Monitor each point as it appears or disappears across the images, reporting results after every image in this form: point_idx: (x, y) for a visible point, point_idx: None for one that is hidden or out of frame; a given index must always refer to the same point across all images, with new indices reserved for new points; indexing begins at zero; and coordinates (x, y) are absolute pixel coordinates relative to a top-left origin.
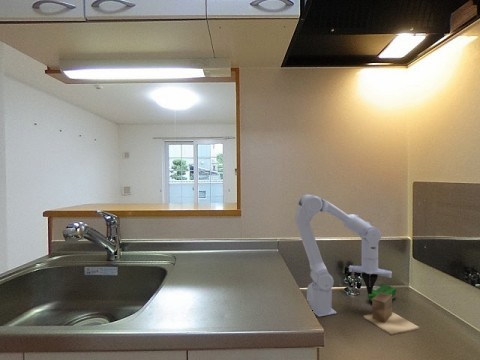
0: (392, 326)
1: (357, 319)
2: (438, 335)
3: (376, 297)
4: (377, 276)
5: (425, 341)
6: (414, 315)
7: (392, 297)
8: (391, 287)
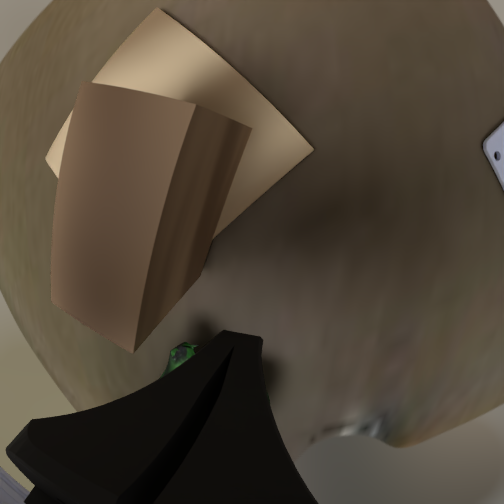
0: (139, 85)
1: (355, 99)
2: (16, 141)
3: (147, 178)
4: (34, 483)
5: (51, 60)
6: None
7: None
8: None
